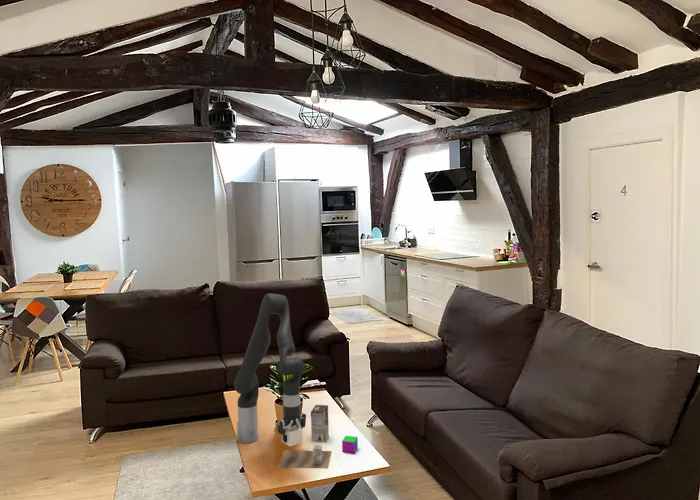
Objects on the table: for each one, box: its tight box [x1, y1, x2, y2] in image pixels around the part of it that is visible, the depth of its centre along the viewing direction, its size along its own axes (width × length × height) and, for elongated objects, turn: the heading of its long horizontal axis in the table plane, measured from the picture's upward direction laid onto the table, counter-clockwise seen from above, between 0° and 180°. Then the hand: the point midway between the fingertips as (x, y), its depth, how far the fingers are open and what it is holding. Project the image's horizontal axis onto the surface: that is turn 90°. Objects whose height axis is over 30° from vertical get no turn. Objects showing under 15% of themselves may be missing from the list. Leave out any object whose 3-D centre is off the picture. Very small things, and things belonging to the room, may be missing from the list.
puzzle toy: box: [341, 435, 359, 455], centre depth 252 cm, size 6×6×6 cm
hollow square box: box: [281, 426, 303, 447], centre depth 241 cm, size 6×6×6 cm
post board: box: [276, 444, 333, 469], centre depth 242 cm, size 22×16×8 cm
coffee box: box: [310, 404, 330, 444], centre depth 263 cm, size 9×6×16 cm
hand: (291, 439), depth 241 cm, fingers closed on hollow square box, 6 cm apart
